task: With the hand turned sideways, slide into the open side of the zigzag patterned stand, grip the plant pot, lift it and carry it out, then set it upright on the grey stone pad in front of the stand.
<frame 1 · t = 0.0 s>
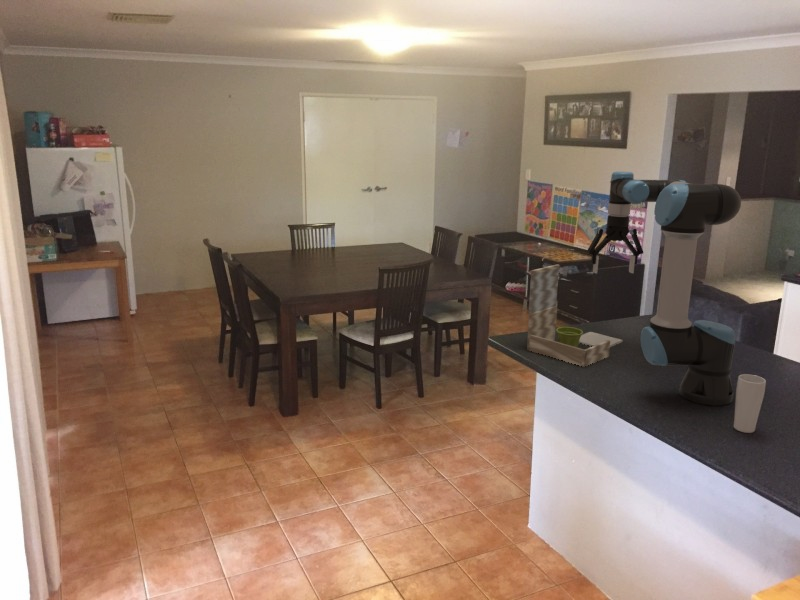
hand: (613, 272, 242), 28 cm above the countertop, tool pointing down, fingers open, 13 cm apart
stone pad: (596, 341, 253), on the countertop
plant pot: (567, 353, 240), on the countertop
drinking glass: (743, 430, 181), on the countertop
zigzag patterned stand: (567, 353, 240), on the countertop
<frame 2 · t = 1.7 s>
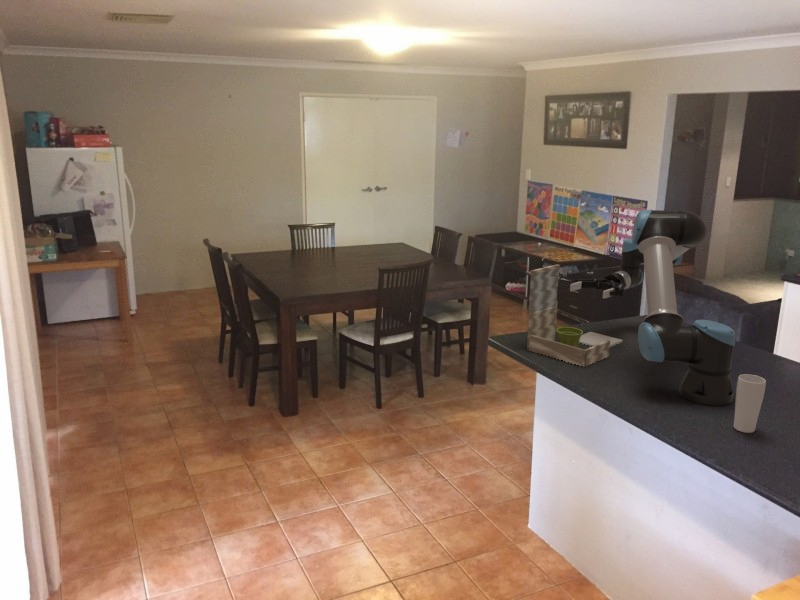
hand: (587, 291, 241), 22 cm above the countertop, tool horizontal, fingers open, 13 cm apart
nothing on the countertop moved.
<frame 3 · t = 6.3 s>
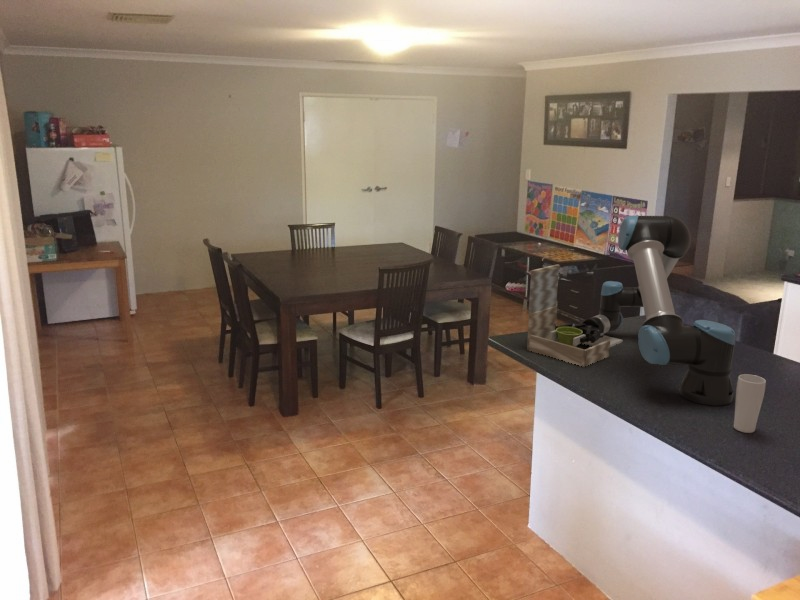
hand: (562, 338, 235), 7 cm above the countertop, tool horizontal, fingers closed on plant pot, 9 cm apart
plant pot: (567, 353, 240), on the countertop, touching gripper
everything else where it was.
when the fingers open (9 cm above the countertop, at t = 12.8 s): plant pot moves 3 cm, resting on stone pad.
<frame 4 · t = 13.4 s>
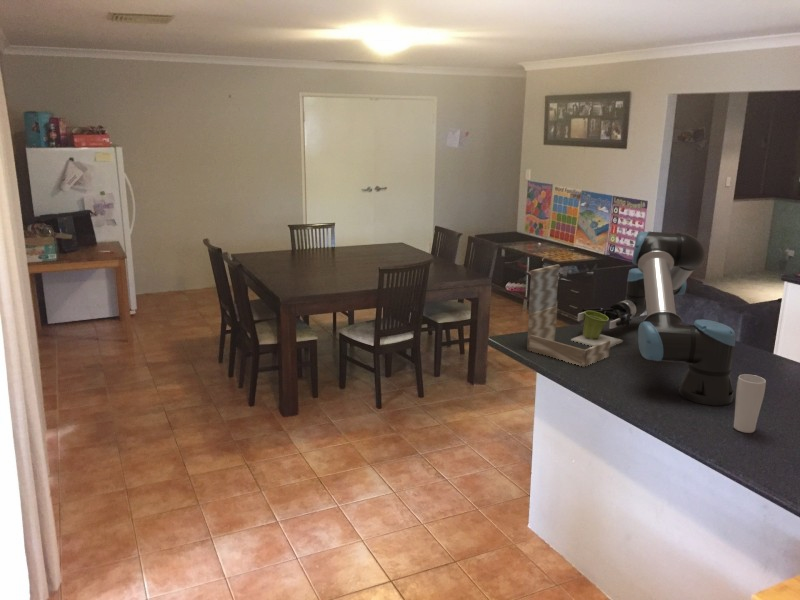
hand: (594, 321, 248), 9 cm above the countertop, tool horizontal, fingers open, 13 cm apart
plant pot: (590, 336, 255), point 1 cm above the countertop, touching gripper, stone pad
everything else where it was.
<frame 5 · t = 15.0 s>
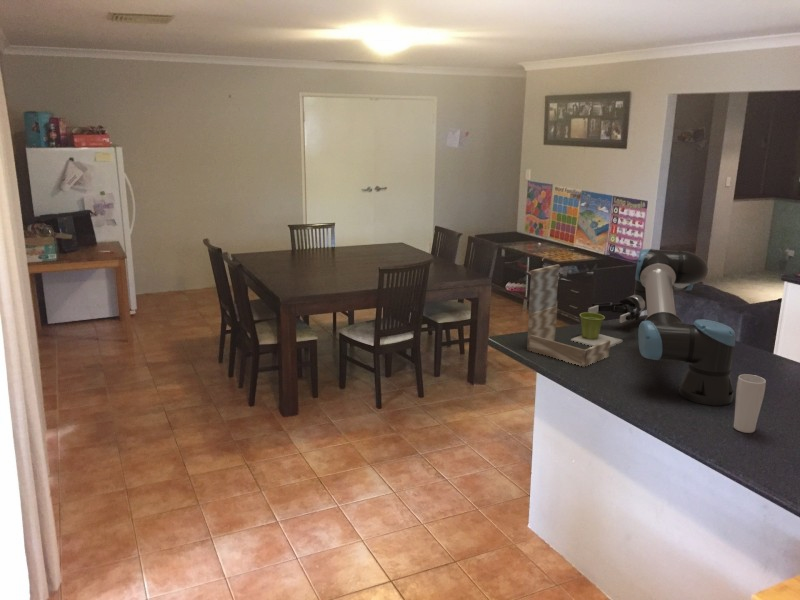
hand: (604, 315, 255), 9 cm above the countertop, tool horizontal, fingers open, 13 cm apart
plant pot: (590, 337, 256), point 1 cm above the countertop, touching stone pad
everything else where it was.
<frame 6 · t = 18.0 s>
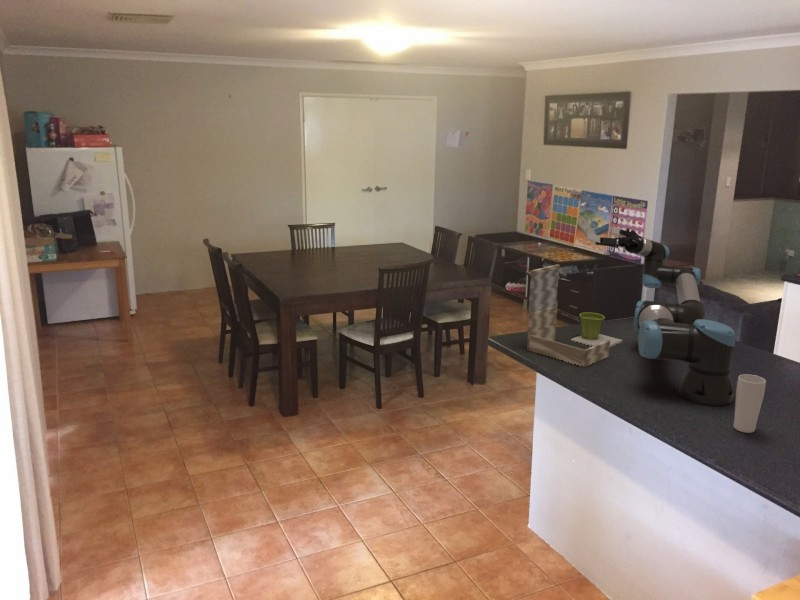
hand: (599, 232, 264), 39 cm above the countertop, tool pointing upward, fingers open, 13 cm apart
nothing on the countertop moved.
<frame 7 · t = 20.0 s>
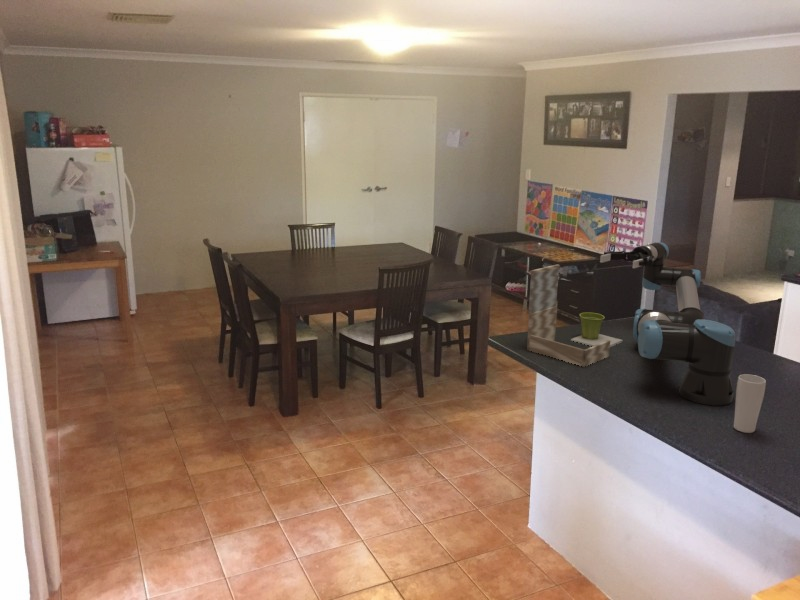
hand: (617, 261, 252), 30 cm above the countertop, tool horizontal, fingers open, 13 cm apart
nothing on the countertop moved.
at the end: plant pot inside the target area on the stone pad (3.4 cm from its centre), point 0.6 cm above the stone pad's base; plant pot tilted 0°; the gripper is holding nothing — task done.
